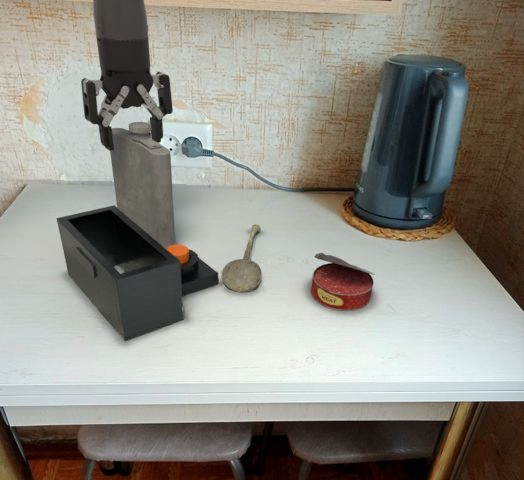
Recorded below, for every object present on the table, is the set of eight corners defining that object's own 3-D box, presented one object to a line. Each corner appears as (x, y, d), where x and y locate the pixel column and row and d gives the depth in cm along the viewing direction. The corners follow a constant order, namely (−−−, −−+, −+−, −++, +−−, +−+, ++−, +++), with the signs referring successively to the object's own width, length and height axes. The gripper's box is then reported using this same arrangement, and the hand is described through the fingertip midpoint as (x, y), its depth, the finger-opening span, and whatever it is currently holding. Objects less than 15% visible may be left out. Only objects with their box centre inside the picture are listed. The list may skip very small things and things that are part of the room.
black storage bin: (123, 341, 71) (114, 280, 65) (66, 275, 83) (54, 218, 77) (183, 319, 76) (180, 260, 70) (121, 259, 88) (114, 205, 82)
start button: (173, 267, 80) (173, 257, 79) (162, 257, 83) (161, 248, 81) (193, 261, 82) (193, 251, 81) (181, 252, 84) (181, 242, 83)
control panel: (170, 300, 80) (168, 278, 77) (140, 272, 85) (138, 251, 83) (218, 284, 84) (218, 263, 81) (186, 258, 90) (186, 238, 87)
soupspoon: (217, 292, 83) (257, 299, 83) (218, 275, 81) (258, 282, 81) (240, 228, 100) (273, 234, 99) (241, 213, 97) (275, 218, 97)
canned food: (306, 311, 87) (295, 253, 85) (358, 297, 90) (349, 240, 87) (334, 320, 77) (322, 255, 74) (392, 304, 79) (383, 240, 77)
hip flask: (116, 224, 99) (101, 114, 86) (134, 218, 101) (122, 110, 88) (164, 256, 90) (156, 139, 77) (183, 249, 92) (178, 135, 80)
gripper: (153, 27, 81) (160, 133, 91) (64, 30, 74) (83, 145, 84) (177, 34, 76) (181, 145, 87) (85, 39, 69) (102, 159, 80)
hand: (133, 145), depth 85 cm, fingers open, 8 cm apart
